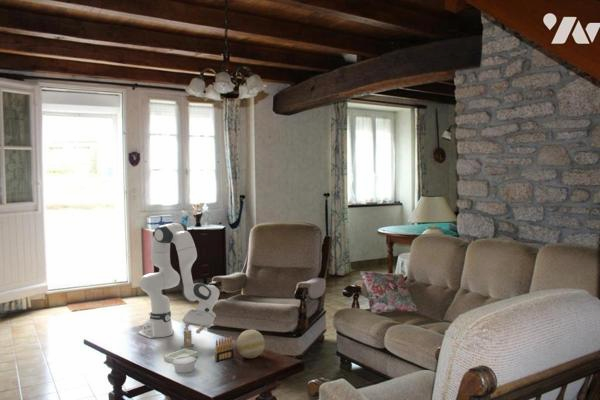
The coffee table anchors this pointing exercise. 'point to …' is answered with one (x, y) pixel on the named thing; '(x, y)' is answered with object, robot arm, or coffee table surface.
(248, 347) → the decorative ball
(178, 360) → the ramekin
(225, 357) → the ammunition clip
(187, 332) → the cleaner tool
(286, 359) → the coffee table surface
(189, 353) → the tray
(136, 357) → the coffee table surface
